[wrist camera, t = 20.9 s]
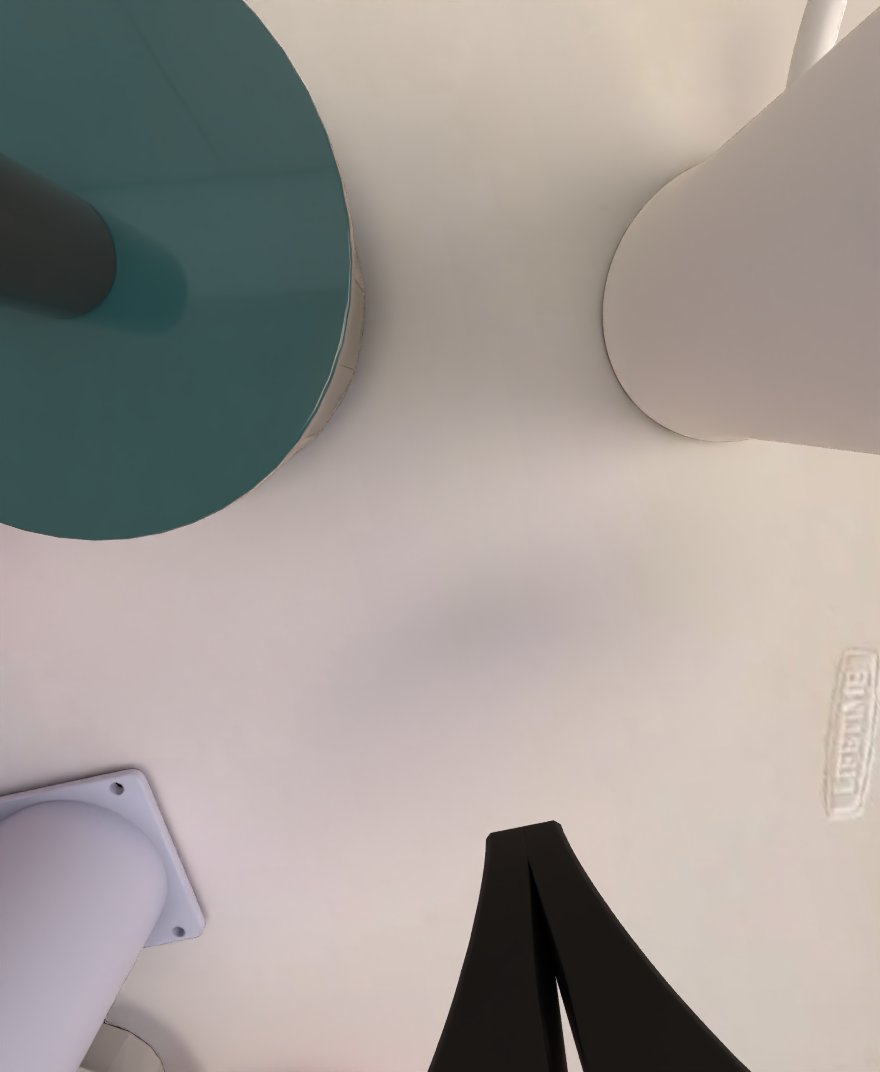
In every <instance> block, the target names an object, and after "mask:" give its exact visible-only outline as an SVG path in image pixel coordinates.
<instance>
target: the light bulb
mask: <svg viewBox="0 0 880 1072" xmlns="http://www.w3.org/2000/svg"><path fill="white" fill-rule="evenodd" d="M77 1072H164V1069H163V1065H162V1062H161V1060H160V1059H159V1057H158V1056H157V1055H156V1054H155V1052H154V1051H153V1050H152V1048H151V1047H150V1046H149V1045H147V1044H146V1043H145V1042H143V1041H142V1040H140V1039H139V1038H138V1037H136V1036H135V1035H133V1034H132V1033H131V1032H128V1031H125V1030H122V1029H119V1028H116V1027H113V1026H110V1025H108V1024H105V1023H102V1025H101V1027H100V1029H99V1030H98V1032H97V1034H96V1036H95V1038H94V1040H93V1042H92V1044H91V1045H90V1047H89V1049H88V1051H87V1053H86V1055H85V1057H84V1058H83V1060H82V1062H81V1064H80V1066H79V1068H78V1070H77Z"/></svg>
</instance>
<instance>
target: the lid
mask: <svg viewBox="0 0 880 1072" xmlns="http://www.w3.org/2000/svg"><path fill="white" fill-rule="evenodd" d="M355 269H356V266H355V252H354V239H353V226H352V221H351V216H350V210H349V205H348V200H347V195H346V190H345V185H344V182H343V178H342V175H341V172H340V169H339V166H338V163H337V159H336V156H335V153H334V150H333V147H332V144H331V141H330V139H329V136H328V134H327V132H326V130H325V127H324V125H323V123H322V121H321V118H320V116H319V114H318V112H317V110H316V107H315V105H314V103H313V101H312V99H311V96H310V94H309V92H308V90H307V88H306V87H305V85H304V83H303V82H302V80H301V78H300V77H299V75H298V73H297V72H296V70H295V68H294V67H293V65H292V63H291V62H290V60H289V58H288V57H287V55H286V53H285V52H284V50H283V49H282V47H281V46H280V45H279V43H278V42H277V41H276V40H275V38H274V37H273V36H272V34H271V33H270V32H269V30H268V29H267V28H266V27H265V25H264V24H263V23H262V21H261V20H260V19H259V17H258V16H257V15H256V14H255V12H254V11H253V10H252V9H251V8H250V7H249V6H248V5H247V4H246V3H245V2H244V1H243V0H0V523H3V524H6V525H9V526H12V527H15V528H18V529H21V530H25V531H29V532H34V533H39V534H44V535H49V536H54V537H58V538H69V539H81V540H93V541H97V540H120V539H132V538H138V537H144V536H149V535H155V534H161V533H164V532H167V531H171V530H174V529H177V528H180V527H183V526H186V525H189V524H192V523H195V522H197V521H199V520H201V519H203V518H205V517H207V516H209V515H212V514H214V513H216V512H218V511H220V510H222V509H224V508H226V507H228V506H230V505H231V504H233V503H234V502H236V501H237V500H239V499H240V498H242V497H243V496H245V495H246V494H248V493H249V492H251V491H252V490H254V489H255V488H257V487H258V486H259V485H260V484H262V483H263V482H264V481H265V480H266V479H267V478H268V477H269V476H271V475H272V474H273V473H274V472H275V471H276V470H277V469H278V468H280V467H281V466H282V465H283V463H284V462H285V461H286V460H287V459H288V458H289V456H290V455H291V454H292V453H293V452H294V450H295V449H296V448H297V447H298V446H299V445H300V443H301V442H302V441H303V440H304V438H305V437H306V435H307V433H308V432H309V430H310V429H311V427H312V426H313V424H314V422H315V421H316V419H317V418H318V416H319V415H320V413H321V411H322V409H323V407H324V405H325V403H326V401H327V398H328V396H329V394H330V392H331V390H332V388H333V385H334V383H335V381H336V379H337V376H338V372H339V369H340V366H341V363H342V359H343V356H344V353H345V350H346V346H347V343H348V337H349V331H350V325H351V319H352V314H353V308H354V290H355Z"/></svg>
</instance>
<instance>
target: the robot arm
mask: <svg viewBox="0 0 880 1072" xmlns="http://www.w3.org/2000/svg"><path fill="white" fill-rule="evenodd" d="M116 783H119V784H121V785H122V786H123V788H121V787H119V786H117V784H116ZM205 924H206V923H205V918H204V916H203V914H202V911H201V909H200V906H199V904H198V902H197V899H196V897H195V894H194V892H193V890H192V887H191V885H190V882H189V880H188V877H187V875H186V873H185V870H184V868H183V865H182V863H181V861H180V858H179V856H178V853H177V851H176V849H175V846H174V844H173V841H172V839H171V837H170V834H169V832H168V829H167V827H166V824H165V822H164V820H163V817H162V815H161V812H160V810H159V808H158V805H157V803H156V800H155V798H154V796H153V793H152V791H151V788H150V786H149V784H148V781H147V779H146V777H145V775H144V774H143V773H142V772H141V771H139V770H136V769H127V770H123V771H118V772H113V773H109V774H104V775H99V776H95V777H90V778H85V779H81V780H76V781H71V782H67V783H62V784H57V785H53V786H48V787H43V788H39V789H34V790H29V791H24V792H20V793H15V794H10V795H6V796H1V797H0V1072H77V1070H78V1068H79V1066H80V1064H81V1062H82V1060H83V1058H84V1057H85V1055H86V1053H87V1051H88V1049H89V1047H90V1045H91V1044H92V1042H93V1040H94V1038H95V1036H96V1034H97V1032H98V1030H99V1029H100V1027H101V1025H102V1023H103V1021H104V1019H105V1017H106V1016H107V1014H108V1012H109V1010H110V1008H111V1006H112V1004H113V1002H114V1001H115V999H116V997H117V995H118V993H119V991H120V989H121V988H122V986H123V984H124V982H125V980H126V978H127V976H128V974H129V973H130V971H131V969H132V967H133V965H134V963H135V961H136V960H137V958H138V956H139V954H140V952H141V950H142V948H146V947H151V946H156V945H162V944H167V943H172V942H177V941H182V940H187V939H192V938H196V937H198V936H200V935H201V934H202V931H203V929H204V927H205ZM180 927H181V928H180ZM556 979H557V983H558V986H559V989H560V993H561V996H562V1000H563V1003H564V1007H565V1010H566V1014H567V1017H568V1020H569V1024H570V1027H571V1031H572V1034H573V1038H574V1041H575V1045H576V1048H577V1051H578V1055H579V1058H580V1062H581V1065H582V1069H583V1072H751V1071H750V1070H749V1069H748V1068H747V1067H746V1066H745V1065H744V1064H743V1063H741V1062H740V1061H739V1060H738V1059H737V1058H736V1057H735V1056H734V1055H733V1054H732V1053H731V1052H730V1050H729V1049H728V1048H727V1047H726V1046H725V1045H724V1044H723V1043H722V1042H721V1041H720V1040H719V1039H718V1038H717V1037H716V1036H715V1035H714V1034H713V1032H712V1031H711V1030H710V1029H709V1028H708V1027H707V1026H706V1025H705V1024H704V1023H703V1022H702V1021H701V1020H700V1019H699V1018H698V1016H697V1015H696V1014H695V1013H694V1012H693V1011H692V1010H691V1009H690V1007H689V1006H688V1005H687V1004H686V1003H685V1002H684V1001H683V1000H682V998H681V997H680V996H679V995H678V994H677V993H676V992H675V991H674V989H673V988H672V987H671V986H670V985H669V984H668V982H667V981H666V980H665V979H664V978H663V976H662V975H661V974H660V973H659V972H658V970H657V969H656V968H655V967H654V966H653V964H652V963H651V962H650V961H649V959H648V958H647V957H646V956H645V954H644V953H643V952H642V951H641V949H640V948H639V947H638V945H637V944H636V943H635V942H634V940H633V939H632V938H631V937H630V935H629V934H628V933H627V931H626V930H625V929H624V927H623V926H622V925H621V923H620V922H619V920H618V919H617V918H616V916H615V915H614V913H613V912H612V911H611V909H610V908H609V906H608V905H607V903H606V902H605V901H604V899H603V898H602V896H601V895H600V894H599V892H598V891H597V889H596V888H595V886H594V885H593V883H592V882H591V880H590V878H589V877H588V875H587V874H586V872H585V870H584V869H583V867H582V865H581V864H580V862H579V861H578V859H577V857H576V855H575V854H574V852H573V850H572V848H571V846H570V844H569V842H568V840H567V838H566V836H565V834H564V832H563V829H562V827H561V824H559V823H557V822H556V821H554V820H553V821H548V822H543V823H538V824H533V825H528V826H523V827H518V828H513V829H508V830H503V831H498V832H493V833H490V835H489V836H488V837H487V839H486V853H485V863H484V871H483V878H482V884H481V889H480V895H479V901H478V905H477V910H476V914H475V919H474V923H473V928H472V932H471V937H470V941H469V945H468V949H467V953H466V956H465V960H464V963H463V967H462V970H461V974H460V977H459V981H458V984H457V988H456V991H455V995H454V998H453V1001H452V1004H451V1007H450V1011H449V1014H448V1017H447V1020H446V1023H445V1026H444V1029H443V1031H442V1034H441V1037H440V1040H439V1043H438V1045H437V1048H436V1051H435V1054H434V1056H433V1059H432V1062H431V1064H430V1067H429V1070H428V1072H568V1069H567V1062H566V1054H565V1046H564V1038H563V1030H562V1022H561V1015H560V1007H559V999H558V991H557V983H556Z"/></svg>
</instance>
